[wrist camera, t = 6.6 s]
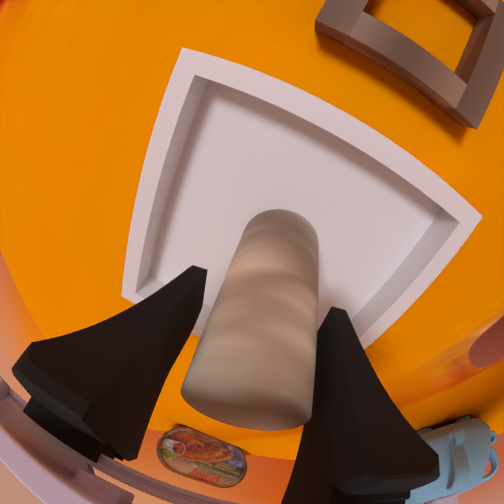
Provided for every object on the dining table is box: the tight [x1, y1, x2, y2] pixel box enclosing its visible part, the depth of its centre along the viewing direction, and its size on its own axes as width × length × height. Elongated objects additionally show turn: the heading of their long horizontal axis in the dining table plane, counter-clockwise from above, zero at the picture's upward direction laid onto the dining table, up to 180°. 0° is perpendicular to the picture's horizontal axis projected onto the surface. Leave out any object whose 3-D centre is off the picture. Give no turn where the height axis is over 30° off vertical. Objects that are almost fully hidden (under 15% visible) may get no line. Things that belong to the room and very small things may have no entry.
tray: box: [121, 48, 482, 350], centre depth 14 cm, size 15×15×3 cm
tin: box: [157, 427, 247, 488], centre depth 33 cm, size 15×3×8 cm, turn 56°
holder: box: [315, 0, 504, 129], centre depth 7 cm, size 8×8×2 cm
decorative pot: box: [405, 416, 499, 504], centre depth 21 cm, size 16×16×14 cm
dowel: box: [181, 209, 319, 431], centre depth 11 cm, size 4×4×9 cm
